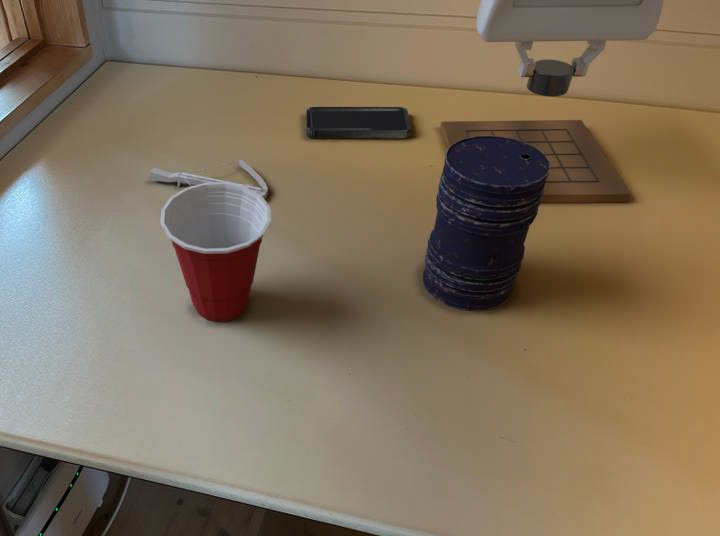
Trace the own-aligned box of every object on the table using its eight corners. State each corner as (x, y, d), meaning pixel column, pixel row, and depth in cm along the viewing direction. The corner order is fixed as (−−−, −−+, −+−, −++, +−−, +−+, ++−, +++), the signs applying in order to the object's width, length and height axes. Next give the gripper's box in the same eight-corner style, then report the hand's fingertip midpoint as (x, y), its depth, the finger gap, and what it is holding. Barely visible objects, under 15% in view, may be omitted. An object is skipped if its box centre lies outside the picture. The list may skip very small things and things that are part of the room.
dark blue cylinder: (439, 317, 75) (467, 192, 64) (408, 261, 81) (429, 141, 71) (529, 304, 76) (571, 180, 65) (491, 251, 82) (523, 130, 72)
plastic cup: (180, 348, 72) (168, 252, 64) (164, 284, 80) (152, 190, 71) (283, 330, 74) (284, 233, 65) (258, 268, 81) (256, 175, 73)
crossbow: (278, 177, 97) (279, 164, 96) (252, 228, 88) (252, 214, 87) (169, 156, 100) (168, 143, 98) (133, 203, 91) (132, 189, 90)
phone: (306, 106, 108) (406, 106, 107) (306, 113, 108) (405, 113, 107) (306, 131, 102) (412, 131, 101) (306, 138, 103) (411, 138, 102)
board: (578, 127, 103) (581, 118, 102) (627, 202, 89) (631, 193, 88) (439, 129, 104) (441, 120, 103) (466, 203, 90) (468, 194, 89)
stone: (561, 79, 91) (567, 59, 89) (573, 96, 87) (579, 75, 85) (521, 79, 91) (527, 59, 89) (532, 96, 87) (537, 76, 86)
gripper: (670, -60, 80) (626, 63, 90) (487, -56, 81) (463, 65, 91) (694, -43, 76) (645, 85, 85) (499, -39, 76) (473, 87, 86)
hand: (550, 75), depth 88 cm, fingers closed on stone, 5 cm apart
